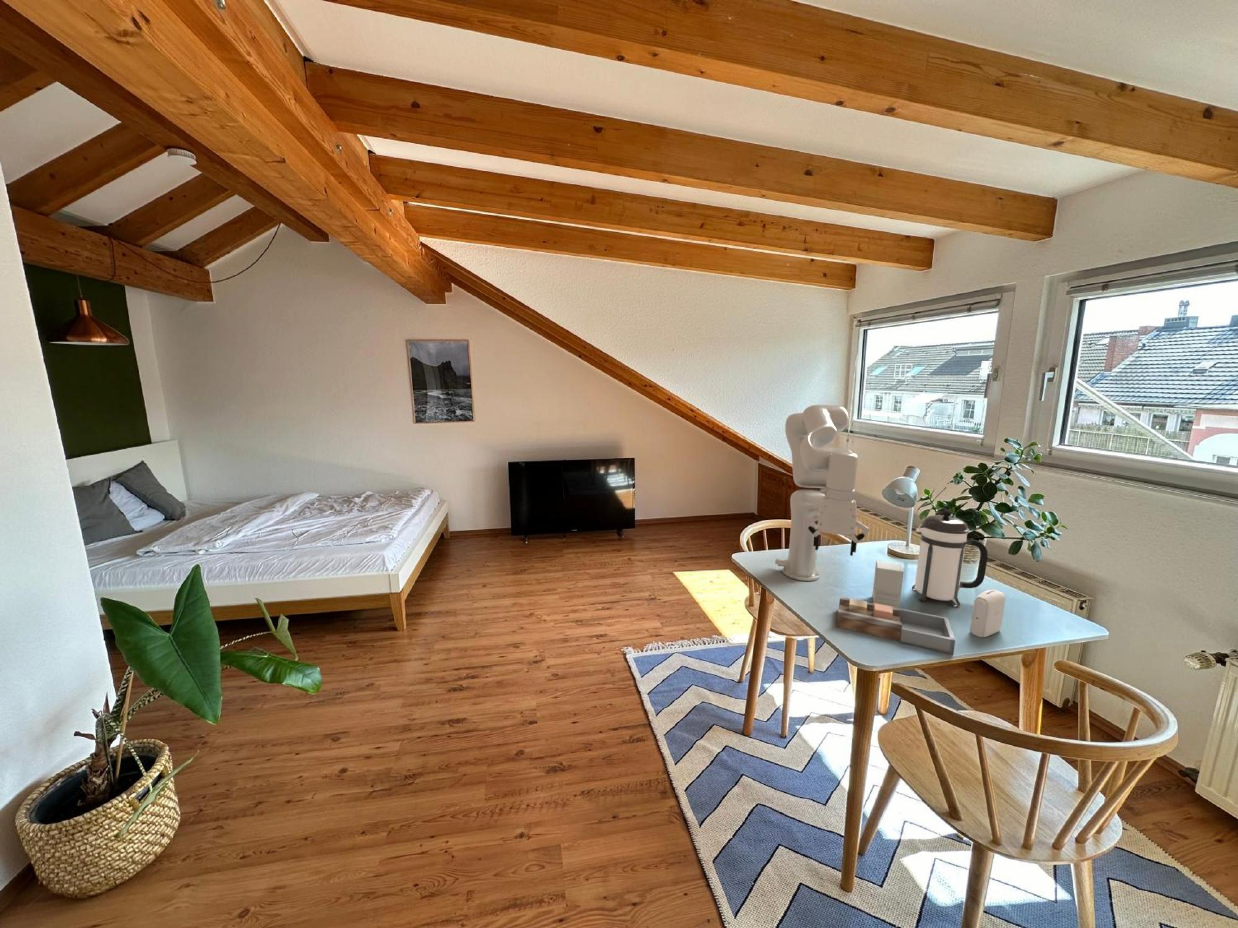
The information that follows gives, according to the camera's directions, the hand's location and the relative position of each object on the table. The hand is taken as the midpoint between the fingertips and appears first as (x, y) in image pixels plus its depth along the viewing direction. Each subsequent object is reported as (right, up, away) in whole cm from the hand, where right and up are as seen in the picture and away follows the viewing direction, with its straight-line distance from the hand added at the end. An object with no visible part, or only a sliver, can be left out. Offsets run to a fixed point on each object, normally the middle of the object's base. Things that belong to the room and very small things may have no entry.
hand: (833, 551), depth 143 cm
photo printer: (+41, -22, -4) cm, 47 cm away
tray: (+22, -22, -8) cm, 32 cm away
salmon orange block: (+12, -18, -3) cm, 22 cm away
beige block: (+7, -18, -1) cm, 19 cm away
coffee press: (+42, -19, +18) cm, 50 cm away
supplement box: (+22, -19, +13) cm, 32 cm away
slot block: (+9, -21, -1) cm, 23 cm away
